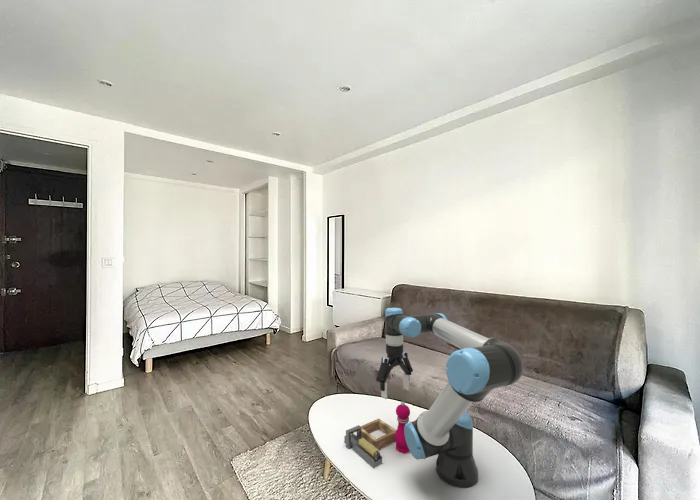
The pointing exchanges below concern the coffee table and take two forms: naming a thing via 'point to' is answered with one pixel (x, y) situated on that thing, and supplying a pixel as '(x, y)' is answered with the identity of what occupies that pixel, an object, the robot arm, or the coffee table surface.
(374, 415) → the coffee table surface
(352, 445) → the rail
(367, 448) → the pin
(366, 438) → the cradle
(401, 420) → the pepper mill
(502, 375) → the robot arm
